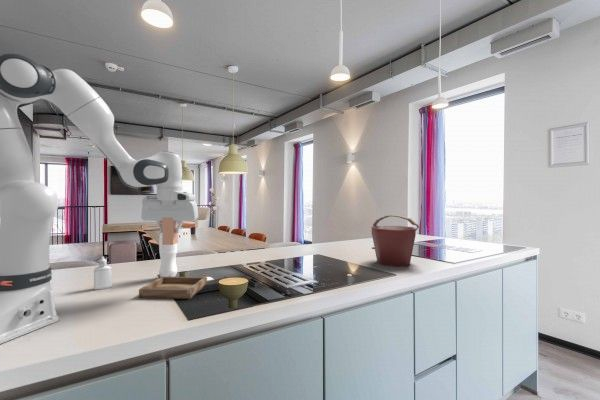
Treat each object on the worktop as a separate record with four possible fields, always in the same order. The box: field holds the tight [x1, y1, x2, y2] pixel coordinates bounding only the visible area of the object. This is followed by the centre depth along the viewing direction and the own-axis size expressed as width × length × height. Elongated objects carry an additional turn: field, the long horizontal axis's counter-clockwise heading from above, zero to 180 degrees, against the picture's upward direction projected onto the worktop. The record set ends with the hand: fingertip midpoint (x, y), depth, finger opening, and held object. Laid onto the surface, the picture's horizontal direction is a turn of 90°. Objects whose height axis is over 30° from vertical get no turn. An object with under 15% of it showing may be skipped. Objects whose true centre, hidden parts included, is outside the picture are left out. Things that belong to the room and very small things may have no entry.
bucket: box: [371, 214, 420, 268], centre depth 156 cm, size 24×22×25 cm
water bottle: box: [158, 233, 178, 278], centre depth 128 cm, size 7×7×25 cm
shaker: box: [162, 218, 179, 245], centre depth 112 cm, size 4×4×11 cm
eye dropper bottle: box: [93, 256, 113, 291], centre depth 114 cm, size 4×6×12 cm
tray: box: [138, 276, 208, 300], centre depth 110 cm, size 16×18×3 cm
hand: (170, 232), depth 112 cm, fingers closed on shaker, 4 cm apart
